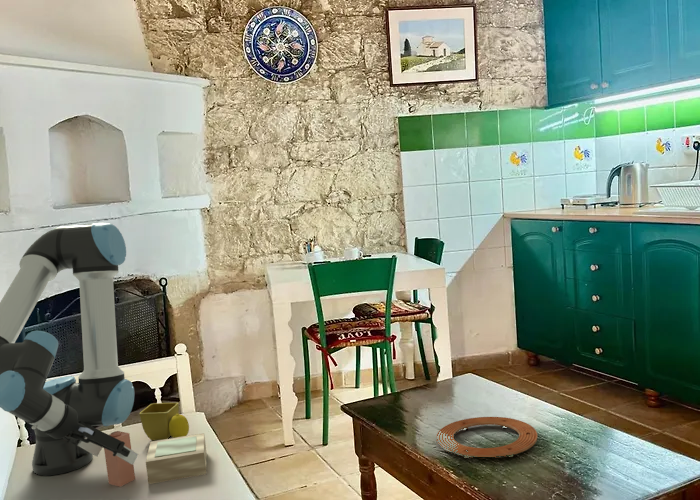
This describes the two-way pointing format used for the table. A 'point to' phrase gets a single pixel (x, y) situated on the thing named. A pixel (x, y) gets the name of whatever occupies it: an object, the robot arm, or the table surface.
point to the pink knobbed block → (119, 463)
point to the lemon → (178, 426)
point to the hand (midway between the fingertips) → (116, 455)
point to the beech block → (176, 458)
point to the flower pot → (158, 419)
